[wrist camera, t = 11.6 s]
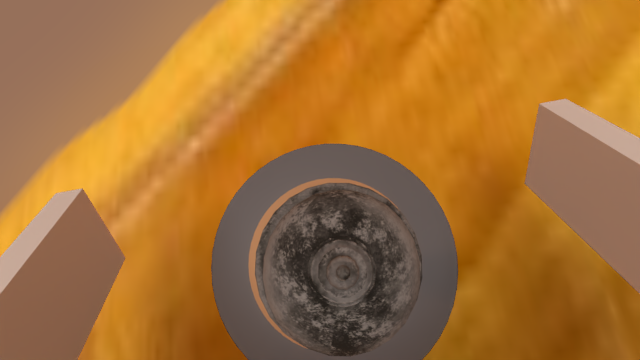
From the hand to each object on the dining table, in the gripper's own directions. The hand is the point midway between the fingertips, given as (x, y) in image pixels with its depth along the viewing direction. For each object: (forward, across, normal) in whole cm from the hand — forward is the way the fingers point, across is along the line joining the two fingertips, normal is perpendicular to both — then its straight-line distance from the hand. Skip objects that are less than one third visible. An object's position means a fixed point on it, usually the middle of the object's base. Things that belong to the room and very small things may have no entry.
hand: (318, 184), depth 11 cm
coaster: (+3, 0, -7) cm, 7 cm away
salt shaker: (+3, 0, -6) cm, 7 cm away
